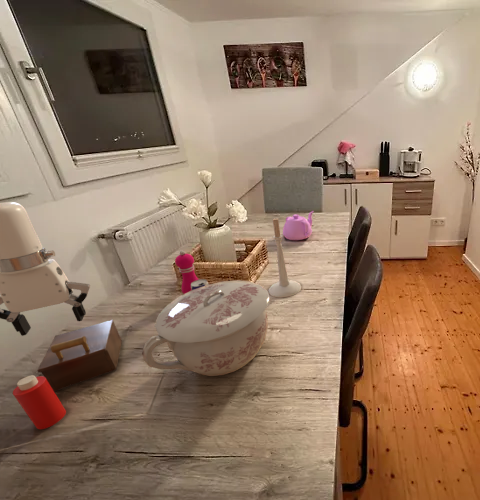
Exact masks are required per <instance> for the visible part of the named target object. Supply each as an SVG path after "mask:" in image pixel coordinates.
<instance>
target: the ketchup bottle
mask: <svg viewBox="0 0 480 500" xmlns="http://www.w3.org/2000/svg"><path fill="white" fill-rule="evenodd" d="M16 385H17V386H16V387H15V388H14V389H13V390H12V395H13V396H14V398H15V399H16V401H17V402H18V403H19V405H20V406H21V408H22V409H23V411H24V412H25V414H26V416H27V417H28V418H29V419H30V421H31V423H33V425H34V426H35V428H36V430H37V429H38V430H46V429H48V428H50V427H52V426H54V425H56V424H57V423H59V422H60V421H61V420H62V419H63V418H65V416H66V414H67V410H66V409H65V407H64V405H63V404H62V402H61V401H60V399H59V397H58V396H57V394H56V393H55V392H56V391H53V389H52V387H51V386H50V384H49V383H48V381H47V379H46V378H45V377H44V376H43V375H40V376H36V375H33V374H31V375H28V376H25V377H23V378H21V379H19V380H18V381H17V383H16Z"/></svg>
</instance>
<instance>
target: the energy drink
mask: <svg viewBox="0 0 480 500" xmlns="http://www.w3.org/2000/svg"><path fill="white" fill-rule="evenodd" d="M209 284H210V283H209V282H208V279H205V278H200V279H199V280H196V281H194V282H192V283H191V289H192V290H194V289H197V288H200V287H203V286H205V285H209Z"/></svg>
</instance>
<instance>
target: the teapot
mask: <svg viewBox="0 0 480 500" xmlns="http://www.w3.org/2000/svg"><path fill="white" fill-rule="evenodd" d="M314 212H315V211H314V210H312V211H310V212H309V213H308V217H307V218H305V216H303V215H302V216H301V215H299V214H297V213H296V214H292V216H286V218H285V223H284V224H283V227H282V228H283V229H282V235H283V237H285V238H286V239H287V240H290V241H302V240H306V239H308V238H309V237H310V236H311V235H312V233H313V229H312V226H313V214H314Z"/></svg>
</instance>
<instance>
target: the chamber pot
mask: <svg viewBox="0 0 480 500" xmlns="http://www.w3.org/2000/svg"><path fill="white" fill-rule="evenodd" d="M208 284H209V285H205V286H203V287H200V288H197V289H194V290H192V291H190V292H188V293H186V294H182V295H180V296H178V297H176V298H175V299H174V300H172V301H171V302H169V303H168V304H167V305H166V306H165V307H164V308H162V310H161V311H160V313H159V314H158V315H157V317H156V320H155V324H154V329H155V330H156V333H157V335H153V336H151V337H149V338H148V340H147V341H146V342H145V343H144V345H143V348H142V352H141V355H142V358H143V362H145V364H147V366H148V367H149V368H153V369H158V370H163V371H165V370H183V371H189V372H194V373H196V374H199V375H201V376H208V377H219V376H225V375H228V374H231V373H234V372H237V371H238V370H240V369H242V368H243V367H245V366H247V365H248V364H249V363H250V362H251V361H253V359H254V358H255V357H256V356H257V355H258V353H259V351H260V349H261V348H262V347H263V345H264V343H265V341H266V338H267V333H268V325H269V317H268V313H267V308H268V306H269V302H270V299H271V298H270V294H269V290H267V289H266V288H265V287H263V286H262V285H261V284H259V283H256V282H253V281H249V280H237V279H236V280H235V279H234V280H224V281H218V282H214V283H213V282H212V283H208ZM165 343H167V348H168V349H169V350H170V351H172V354H173V356H174V357H175V359H176V360H168V361H162V360H157V359H155V358H154V357H153V350H154V349H155V348H156V347H158V346H159V345H161V344H165Z"/></svg>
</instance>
